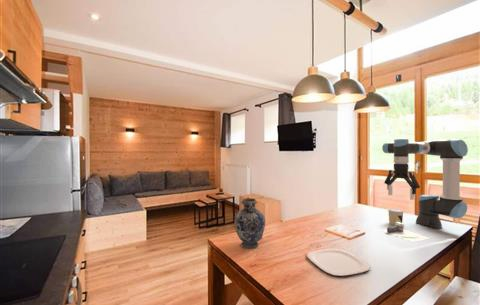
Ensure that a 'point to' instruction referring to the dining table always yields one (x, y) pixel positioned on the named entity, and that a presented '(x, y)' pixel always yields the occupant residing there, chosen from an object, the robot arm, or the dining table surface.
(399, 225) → the dark grey lever
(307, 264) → the dining table surface
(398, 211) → the coffee cup
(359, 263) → the plate
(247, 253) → the dining table surface
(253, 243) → the decorative vase
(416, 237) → the gauge board
